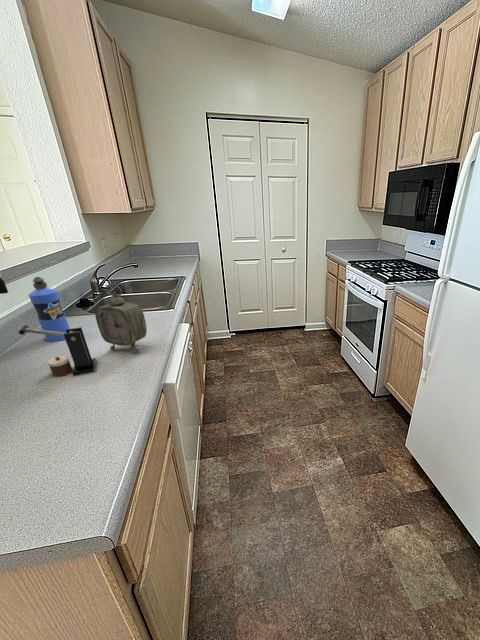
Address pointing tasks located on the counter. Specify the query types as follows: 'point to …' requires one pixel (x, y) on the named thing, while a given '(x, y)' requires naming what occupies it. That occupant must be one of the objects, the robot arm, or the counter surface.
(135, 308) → the tabletop clock
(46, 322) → the blue bottle
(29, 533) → the counter surface
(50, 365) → the cake
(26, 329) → the lever
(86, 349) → the black upright frame
